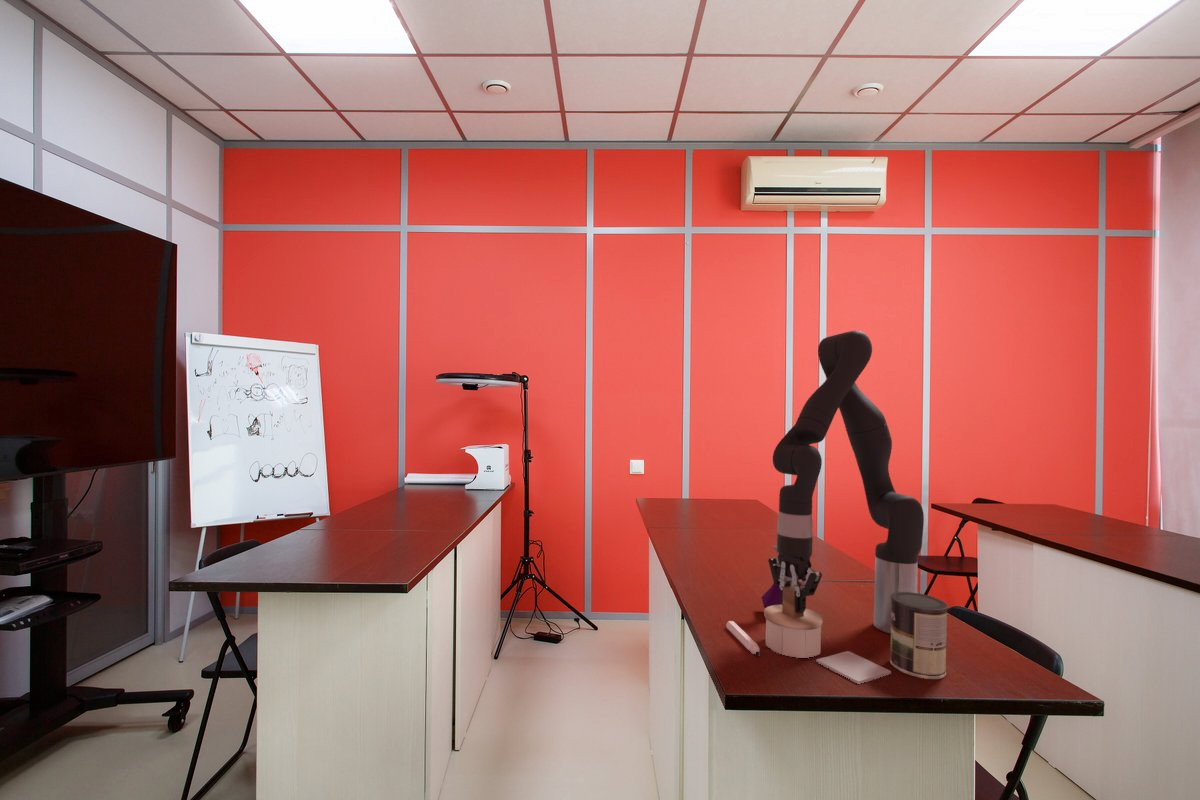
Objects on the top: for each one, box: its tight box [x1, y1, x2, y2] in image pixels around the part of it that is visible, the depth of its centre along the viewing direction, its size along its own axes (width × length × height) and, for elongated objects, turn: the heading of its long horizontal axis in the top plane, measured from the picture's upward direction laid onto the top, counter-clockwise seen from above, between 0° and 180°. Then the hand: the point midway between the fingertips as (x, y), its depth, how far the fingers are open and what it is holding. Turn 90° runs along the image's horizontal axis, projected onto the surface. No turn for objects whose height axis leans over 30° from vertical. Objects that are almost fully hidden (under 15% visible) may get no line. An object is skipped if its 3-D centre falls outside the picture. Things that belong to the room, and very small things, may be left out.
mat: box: [816, 650, 892, 685], centre depth 112 cm, size 10×10×1 cm
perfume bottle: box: [761, 545, 782, 609], centre depth 139 cm, size 8×8×18 cm
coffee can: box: [889, 592, 949, 680], centre depth 113 cm, size 10×10×14 cm
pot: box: [765, 618, 822, 659], centre depth 121 cm, size 11×11×6 cm
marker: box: [725, 620, 761, 657], centre depth 122 cm, size 3×2×16 cm
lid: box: [763, 584, 824, 630], centre depth 121 cm, size 12×12×7 cm
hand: (792, 609), depth 121 cm, fingers closed on lid, 3 cm apart
